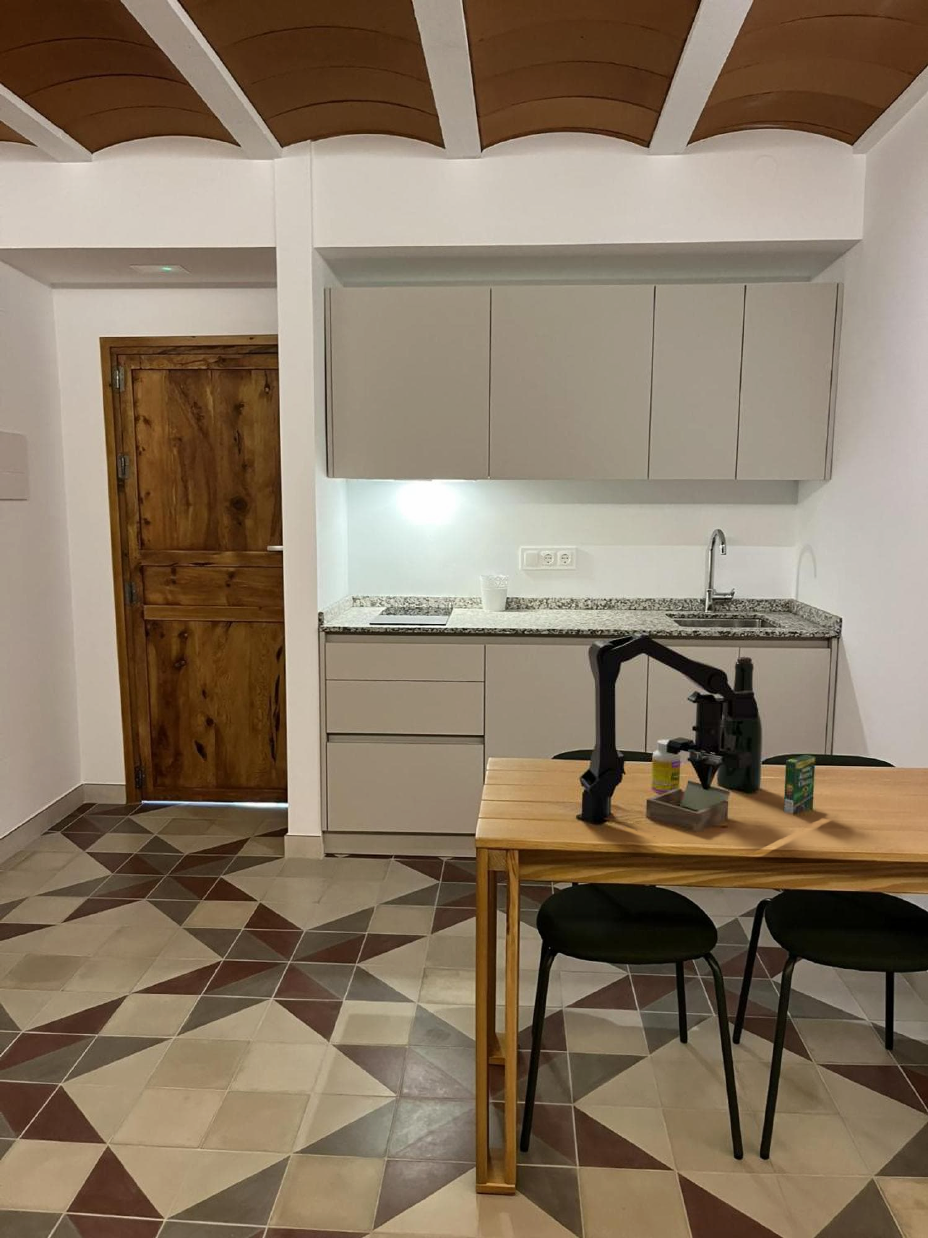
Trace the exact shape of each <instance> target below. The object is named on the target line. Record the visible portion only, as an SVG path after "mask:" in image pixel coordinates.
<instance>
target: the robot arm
mask: <svg viewBox="0 0 928 1238" xmlns="http://www.w3.org/2000/svg"><path fill="white" fill-rule="evenodd" d="M642 654H643V655H646V656H648V657H650V658H651V659H654V660H655V661H658V662H659V663H661V664H663V665H665V666H667V667H668V668H671V669H673V670H674V671H677V672H678V673H680V674H682V675H683V676H684V677H685V678H686V679H687V680H689V681H690V682H691V683H693V685H695V686H696V687H697V688H699V689H701V690H703V691H705V692H707V693H709V694H705V693H704V694H701V693H700V692H699V691H697V690H694V691H693V693H692V694H690V695H689V696H688V697H687V701H689V702H690V703H692V704H696V710H695V712H696V713H695V725H693V726H692V728H691V729H692V730H691V731H693V732H695V735H694V740H693V739H689V738H685V737H681V736H680V737H676V738H673V739H668V740H669V741H668V743H667V745H666V752H667V753H671V754H675V755H677V754H678V753H679V754H680V753H681V752H687V753H689V755H688V757H687V758H686V759H687V762H689V763H690V764H691V766H692V768H693V769H694V771H695V773H696V775H697V778H698V780H699V783H700V784H701V785H702V787H703V789H704V790H709V788H710V786H712V783H713V781H714V778H715V776H716V775H717V774H716V773H717V770H718V769H719V767H720V766H721V765H723V764H724V765H725V766H728V767H732V768H741V767H744V766H747V765H750V764H751V755H750V754H749V752H747V751H742V750H737V749H734V744H735V740H736V736H734V735H731V734H728V733H726V728H725V726H722V718H723V716H724V717H726V719H727V720H728V721H755V720H756V718H757V716H758V712H759V707H758V704H757V700H756V698H755V692H754V691H753V692H752V691H742V692H734V691H733V688H732V687H731V685H730V684H729V683H728V681H729V679H728V678H729V677H728V674H727V673H726V672H725V671H724V670H723V669H720V668H718V667H715V666H713V665H710V664H709V663H704V662H701V661H698V660H695V659H690V658H688V657H686V656H685V655H683V654H681V653H679V652H677V651H675V650H673V649H671V648H670V647H668V646H665V645H663V644H662V643H660V642H657V641H656V640H654V639H652V637H650V636H648V635H646V634H645V633H642V632H635V633H634V634H630V635H628V636H623V637H619V638H615V639H611V640H608V641H606V640H597V641H594V642H593V643H592V644H591V645H590V646H589V647H588V653H587V655H588V660H589V667H590V670H591V673H592V677H593V679H594V687H595V689H594V692H595V694H594V697H595V699H594V700H595V701H594V702H595V704H594V706H595V707H594V708H595V713H594V714H595V715H594V716H595V744H594V748H593V750H592V753H591V755H590V763H589V768H587V769H586V771H584V773H583V774H581V776H579V779H578V780H579V782H580V785H581V787H582V788H583V792H581V813H579V814H576V815H575V818H576V819H579V820H583V821H586V822H589V823H592V824H594V825H598V826H599V825H601V824H605V823H606V822H610V820H609V819H607V818H608V817H609V816H610V814H611V813H612V810H611V809H612V797H613V795H614V793H615V791H616V788H617V787H618V786H619V785H620V784H621V783H622V780H623V775H626V771H625V759H626V756H625V755H624V754H623V753H622V752H621V751H619V750H618V749H617V746H616V684H617V680H618V678H619V676H620V672H621V666H622V664H623V663H625V662H629V661H631V660H633V659H634V658H636V657H637V656H640V655H642ZM715 695H718V696H720V697H716V696H715ZM727 748H729V749H731V750H730V751H727V752H725V751H721V749H727Z"/></svg>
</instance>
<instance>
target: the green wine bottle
mask: <svg viewBox="0 0 928 1238" xmlns="http://www.w3.org/2000/svg"><path fill="white" fill-rule="evenodd" d="M752 659H753V658H751V657H748V656H739V657H737V660H736V662H735V663H734V682H733V688H732V690H733V691H734V692H742V691H752V692H754V687H753V686H754V683H753V681H754V677H753V676H754V668H755V667H754V663H753V662H752V661H753V660H752ZM759 713H760V712H759V711H758V716H757V718H756V720H755V721H728V720H727V719H726V717H724V716H722V726H725V728H726V733H728V734H731V735H734V736H736V740H735V744H734V749H737V750H742V751H747V752H749V754H750V755H751V764H750V765H747V766H744V767H741V768H732V767H728V766H725V765H724V764H723V765H721V766H720V767H719V769H718V770H717V772H716V773H717V774H716V785H717V787H718V788H722V789H725V790H729V791H736V792H739V793H743V794H747V795H748V794H749V795H750V794H755V793H757V792H758V791H760V790H761V785H762V768H763V767H762V763H763V725H762V719H761V716H760V714H759ZM730 750H731V749H729V748H727V749H721V751H725V752H727V751H730Z"/></svg>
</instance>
